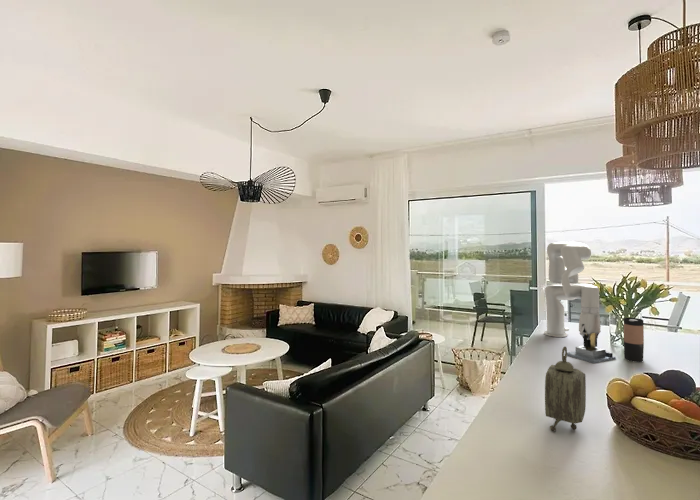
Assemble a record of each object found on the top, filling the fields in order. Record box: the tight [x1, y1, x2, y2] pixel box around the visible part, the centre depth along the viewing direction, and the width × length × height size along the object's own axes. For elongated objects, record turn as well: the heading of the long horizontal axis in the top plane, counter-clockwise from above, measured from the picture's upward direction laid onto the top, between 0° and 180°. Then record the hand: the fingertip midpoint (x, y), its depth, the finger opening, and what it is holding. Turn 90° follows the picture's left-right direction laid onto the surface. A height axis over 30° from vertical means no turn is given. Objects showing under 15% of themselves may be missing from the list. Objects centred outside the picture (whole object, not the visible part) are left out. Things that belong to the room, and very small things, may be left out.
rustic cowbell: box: [544, 346, 587, 432], centre depth 108 cm, size 14×9×25 cm, turn 141°
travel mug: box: [623, 317, 645, 363], centre depth 171 cm, size 8×8×20 cm
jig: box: [567, 345, 617, 364], centre depth 176 cm, size 16×14×4 cm
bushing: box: [586, 333, 595, 350], centre depth 176 cm, size 4×4×9 cm
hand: (590, 346), depth 176 cm, fingers closed on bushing, 4 cm apart
